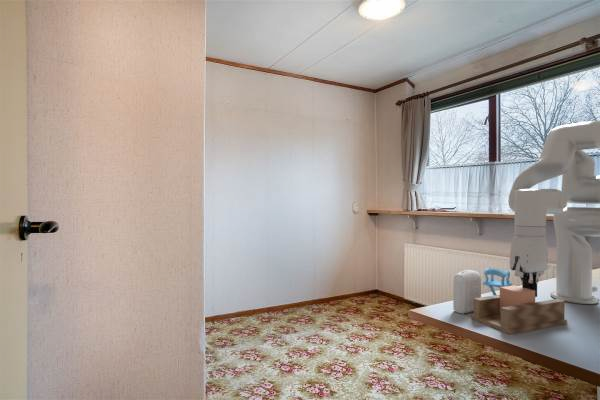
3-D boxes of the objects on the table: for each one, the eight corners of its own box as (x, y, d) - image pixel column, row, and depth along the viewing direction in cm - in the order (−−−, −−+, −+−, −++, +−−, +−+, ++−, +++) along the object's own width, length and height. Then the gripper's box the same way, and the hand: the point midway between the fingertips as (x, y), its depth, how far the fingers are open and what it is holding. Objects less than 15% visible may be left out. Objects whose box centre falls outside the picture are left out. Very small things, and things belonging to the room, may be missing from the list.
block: (514, 312, 98) (514, 285, 98) (535, 319, 92) (535, 290, 92) (499, 315, 96) (499, 287, 96) (519, 322, 90) (520, 292, 90)
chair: (514, 304, 109) (515, 267, 109) (506, 309, 103) (506, 271, 103) (489, 299, 115) (489, 264, 115) (479, 303, 109) (479, 267, 109)
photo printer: (469, 305, 108) (469, 267, 108) (483, 309, 104) (483, 269, 104) (451, 311, 102) (451, 270, 102) (464, 315, 99) (464, 273, 99)
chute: (524, 309, 104) (524, 290, 104) (567, 323, 92) (567, 301, 92) (471, 318, 96) (471, 297, 96) (510, 334, 85) (510, 310, 85)
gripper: (534, 230, 102) (534, 290, 102) (499, 231, 96) (498, 295, 97) (561, 232, 95) (560, 297, 95) (524, 234, 89) (524, 302, 90)
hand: (529, 295), depth 96 cm, fingers closed
